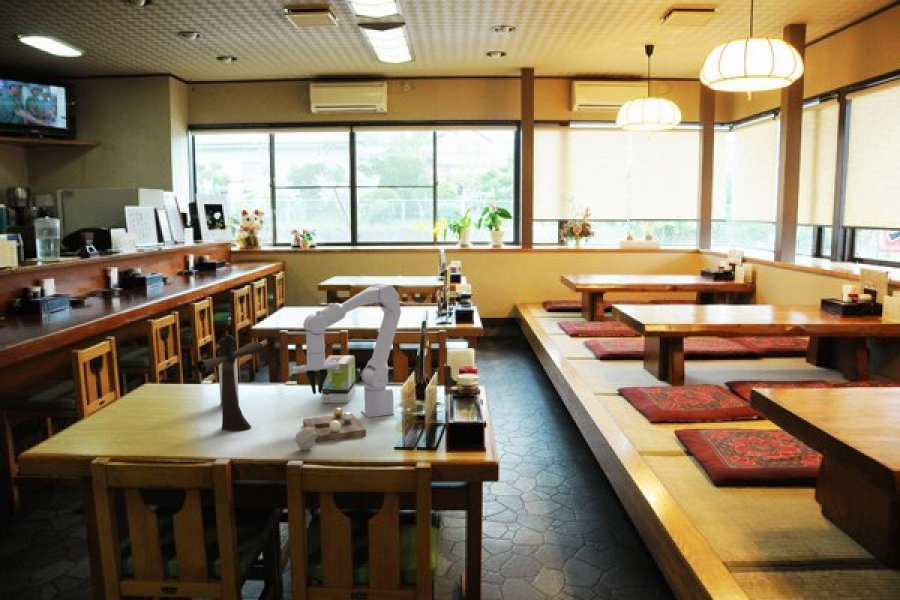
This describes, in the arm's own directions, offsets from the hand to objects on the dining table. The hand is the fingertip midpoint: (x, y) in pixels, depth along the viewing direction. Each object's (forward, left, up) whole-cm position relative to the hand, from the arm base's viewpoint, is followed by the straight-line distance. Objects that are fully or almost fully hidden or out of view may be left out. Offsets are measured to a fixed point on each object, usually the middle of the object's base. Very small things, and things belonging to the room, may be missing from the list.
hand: (317, 392), depth 215 cm
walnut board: (-3, +10, -10) cm, 14 cm away
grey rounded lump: (+8, +24, -10) cm, 27 cm away
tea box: (-13, -26, -10) cm, 31 cm away
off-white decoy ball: (-2, +17, -6) cm, 18 cm away
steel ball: (-8, +10, -6) cm, 14 cm away
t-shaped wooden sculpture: (+25, -5, -10) cm, 27 cm away
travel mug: (+25, -33, -10) cm, 43 cm away
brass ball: (-6, +3, -6) cm, 9 cm away
